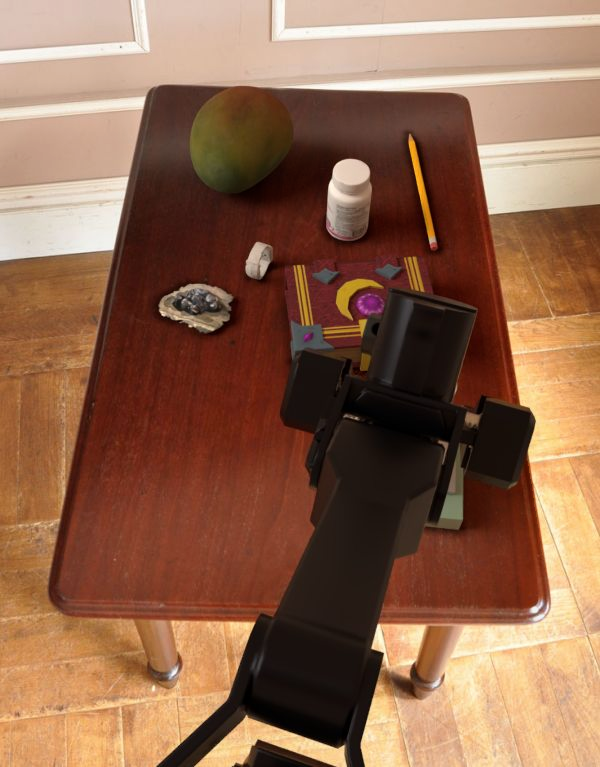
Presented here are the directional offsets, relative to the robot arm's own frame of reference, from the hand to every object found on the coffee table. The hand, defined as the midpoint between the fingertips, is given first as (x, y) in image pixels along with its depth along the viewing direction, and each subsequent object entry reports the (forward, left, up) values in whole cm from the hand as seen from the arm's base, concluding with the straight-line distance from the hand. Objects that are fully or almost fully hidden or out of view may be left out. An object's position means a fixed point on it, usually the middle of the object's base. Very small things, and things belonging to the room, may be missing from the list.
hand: (412, 396), depth 74 cm
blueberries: (+15, +22, -10) cm, 28 cm away
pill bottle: (+29, +7, -10) cm, 31 cm away
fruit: (+36, +20, -10) cm, 42 cm away
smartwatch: (+21, +16, -10) cm, 28 cm away
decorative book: (+15, +4, -10) cm, 18 cm away
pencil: (+36, -1, -10) cm, 37 cm away
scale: (-1, 0, -10) cm, 10 cm away
